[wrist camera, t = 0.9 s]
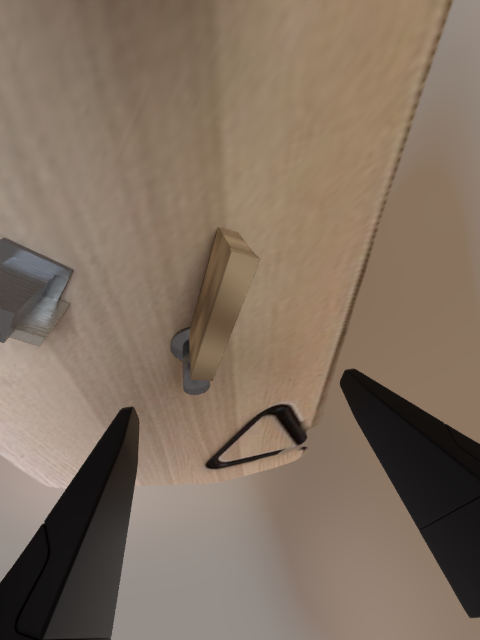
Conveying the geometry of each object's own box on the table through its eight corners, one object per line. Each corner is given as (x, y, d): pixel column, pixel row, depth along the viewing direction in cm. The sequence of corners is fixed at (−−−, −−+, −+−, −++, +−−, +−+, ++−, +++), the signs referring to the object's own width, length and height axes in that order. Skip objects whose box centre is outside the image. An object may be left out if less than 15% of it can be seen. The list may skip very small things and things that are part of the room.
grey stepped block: (4, 237, 15) (-67, 271, 10) (83, 274, 17) (52, 314, 13) (-11, 284, 16) (-79, 331, 12) (64, 312, 19) (30, 360, 14)
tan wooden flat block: (205, 335, 23) (212, 380, 18) (187, 333, 22) (190, 379, 18) (238, 232, 18) (260, 259, 13) (216, 225, 17) (231, 251, 12)
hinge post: (186, 320, 22) (188, 361, 17) (222, 337, 24) (232, 377, 20) (162, 350, 23) (159, 395, 19) (199, 364, 25) (203, 407, 21)
